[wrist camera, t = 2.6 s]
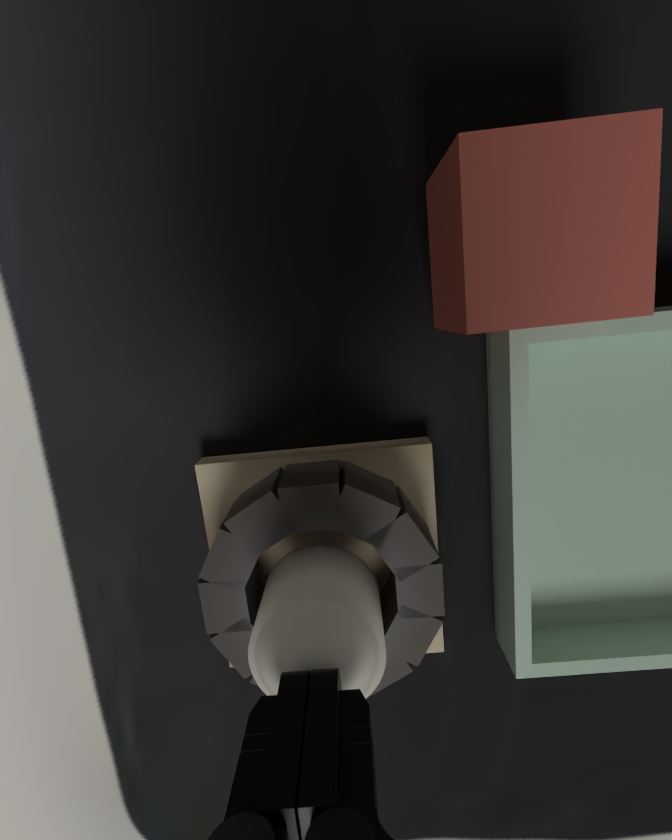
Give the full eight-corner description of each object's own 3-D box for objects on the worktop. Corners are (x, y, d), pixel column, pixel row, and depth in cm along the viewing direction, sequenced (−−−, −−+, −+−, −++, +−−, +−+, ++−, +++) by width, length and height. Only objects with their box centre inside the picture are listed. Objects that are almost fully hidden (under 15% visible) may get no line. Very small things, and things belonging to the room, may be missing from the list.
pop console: (202, 457, 19) (171, 489, 16) (427, 436, 19) (445, 464, 15) (235, 650, 21) (214, 716, 18) (439, 635, 21) (457, 699, 17)
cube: (425, 184, 17) (458, 132, 12) (569, 167, 17) (662, 108, 12) (433, 328, 18) (466, 334, 13) (568, 314, 18) (653, 315, 13)
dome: (257, 549, 16) (228, 629, 12) (374, 539, 16) (383, 616, 12) (272, 649, 17) (250, 756, 13) (383, 641, 17) (395, 746, 13)
